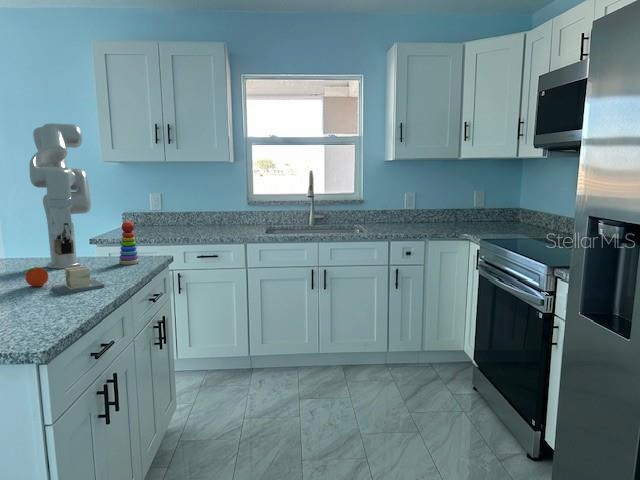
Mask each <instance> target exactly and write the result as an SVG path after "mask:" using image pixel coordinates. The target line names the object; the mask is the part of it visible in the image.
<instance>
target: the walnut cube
mask: <svg viewBox="0 0 640 480" xmlns="http://www.w3.org/2000/svg"><path fill="white" fill-rule="evenodd" d="M61 243H62V240H61V239H54V248H55V253H56V254H58V255H65V254H62V250H61ZM71 248H72V253H68V254H73V253H74V246H73V240H72V239H71Z"/></svg>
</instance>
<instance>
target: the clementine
mask: <svg viewBox="0 0 640 480" xmlns="http://www.w3.org/2000/svg"><path fill="white" fill-rule="evenodd" d="M22 277H25V278H24V279H25V282H26V283H27V284H28V285H30V286H32V287H34V288H35V287H37V288H38V287H42V286H43V285H45V284H46V283H47V281H48V280H49V274H48V271H47V270H46V269H45V268H44V267H39V266H35V267H31V268H28V269H27V270H25V272H23V275H22Z"/></svg>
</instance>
